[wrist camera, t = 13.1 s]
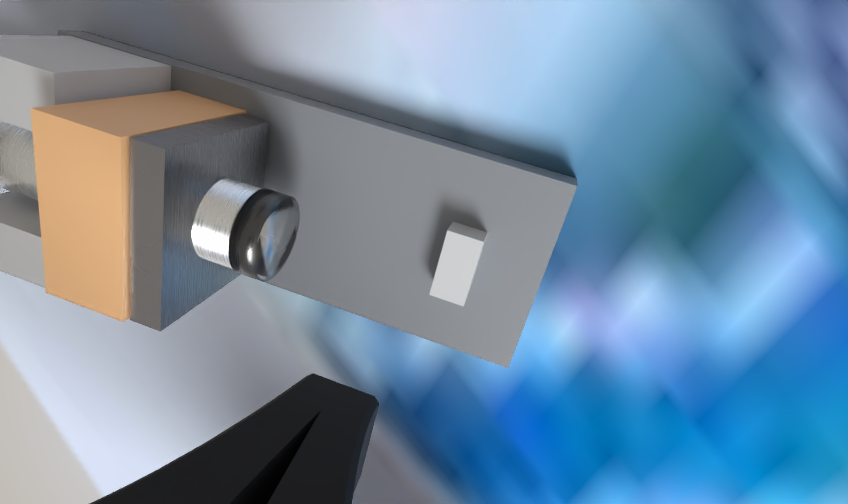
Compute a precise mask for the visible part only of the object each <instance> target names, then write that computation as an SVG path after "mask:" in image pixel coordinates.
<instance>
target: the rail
mask: <svg viewBox="0 0 848 504" xmlns="http://www.w3.org/2000/svg"><path fill="white" fill-rule="evenodd" d="M58 35H59V36H57V35H0V121H3V122H6V123H9V124H12V125H15V126H18V127H21V128H24V129H27V130H30V131H32V123H31V111H30V108H34V107H42V106H51V105H59V104H67V103H76V102H84V101H92V100H101V99H109V98H117V97H126V96H134V95H142V94H151V93H159V92H167V91H176V90H180V91H184V92H187V93H190V94H193V95H197V96H200V97H203V98H206V99H210V100H213V101H216V102H220V103H223V104H226V105H229V106H233V107H236V108H239V109H242V110H246V111H247V115H251V116H254V117H257V118H260V119H264V120H267V121H270V131H269V140H268V149H267V158H266V167H265V176H264V185H263V188H267V189H270V190H273V191H276V192H280V193H283V194H286V195H289V196H292V197H294V198H295V199H296V201H297V202H298V205H299V211H300V219H299V227H298V232H297V236H296V240H295V243H294V246H293V248H292V251H291V253H290V255H289V257H288V259H287V261H286V262H285V264H284V266H283V267H282V269H281V270H280V271H279V272H278V273H277V274H276V275H275V276H274V277H273V278H272V279H270V280H268V281H263V282H266V283H269V284H271V285H274V286H277V287H280V288H283V289H286V290H288V291H291V292H294V293H297V294H300V295H303V296H305V297H308V298H311V299H314V300H317V301H320V302H322V303H325V304H328V305H331V306H334V307H337V308H339V309H342V310H345V311H348V312H351V313H354V314H356V315H359V316H362V317H365V318H368V319H371V320H373V321H376V322H379V323H382V324H385V325H388V326H390V327H393V328H396V329H399V330H402V331H405V332H407V333H410V334H413V335H416V336H419V337H422V338H424V339H427V340H430V341H433V342H436V343H439V344H441V345H444V346H447V347H450V348H453V349H456V350H458V351H461V352H464V353H467V354H470V355H473V356H475V357H478V358H481V359H484V360H487V361H490V362H492V363H495V364H498V365H501V366H504V367H507V368H508V367H509V364H510V362H511V359H512V356H513V354H514V351H515V349H516V346H517V343H518V341H519V338H520V335H521V333H522V330H523V328H524V325H525V322H526V320H527V317H528V314H529V312H530V309H531V307H532V304H533V301H534V299H535V296H536V293H537V291H538V288H539V286H540V283H541V280H542V278H543V275H544V272H545V270H546V267H547V265H548V262H549V259H550V257H551V254H552V251H553V249H554V246H555V244H556V241H557V238H558V236H559V233H560V230H561V228H562V225H563V223H564V220H565V217H566V215H567V212H568V210H569V207H570V204H571V202H572V199H573V196H574V194H575V191H576V189H577V178H573V177H570V176H567V175H563V174H560V173H557V172H553V171H550V170H547V169H543V168H540V167H537V166H533V165H530V164H526V163H523V162H520V161H516V160H513V159H510V158H506V157H503V156H500V155H496V154H493V153H490V152H486V151H483V150H479V149H476V148H473V147H469V146H466V145H463V144H459V143H456V142H453V141H449V140H446V139H443V138H439V137H436V136H432V135H429V134H426V133H422V132H419V131H416V130H412V129H409V128H406V127H402V126H399V125H396V124H392V123H389V122H385V121H382V120H379V119H375V118H372V117H369V116H365V115H362V114H359V113H355V112H352V111H349V110H345V109H342V108H338V107H335V106H332V105H328V104H325V103H322V102H318V101H315V100H312V99H308V98H305V97H302V96H298V95H295V94H291V93H288V92H285V91H281V90H278V89H275V88H271V87H268V86H265V85H261V84H258V83H255V82H251V81H248V80H244V79H241V78H238V77H234V76H231V75H228V74H224V73H221V72H218V71H214V70H211V69H208V68H204V67H201V66H197V65H194V64H191V63H187V62H184V61H181V60H177V59H174V58H171V57H167V56H164V55H161V54H157V53H154V52H150V51H147V50H144V49H140V48H137V47H134V46H130V45H127V44H124V43H120V42H117V41H114V40H110V39H107V38H103V37H100V36H97V35H93V34H90V33H87V32H83V31H58ZM0 271H2V272H5V273H7V274H10V275H12V276H15V277H18V278H20V279H23V280H26V281H28V282H31V283H34V284H36V285H39V286H42V287H44V288H46V287H45V275H44V263H43V252H42V240H41V228H40V216H39V205H38V200H36V199H33V198H30V197H27V196H24V195H21V194H18V193H16V192H13V191H10V192H6V193H3V194H0Z"/></svg>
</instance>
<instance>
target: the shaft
mask: <svg viewBox="0 0 848 504" xmlns="http://www.w3.org/2000/svg"><path fill="white" fill-rule="evenodd" d="M269 131H270V121H267V120H264V119H260V118H257V117H254V116H251V115H247V114H244V113H242V114H238V115H233V116H228V117H224V118H219V119H214V120H210V121H205V122H201V123H196V124H191V125H187V126H182V127H177V128H173V129H168V130H164V131H159V132H154V133H150V134H145V135H140V136H136V137H131V138H129V197H130V320H132V321H135V322H137V323H140V324H142V325H145V326H148V327H150V328H153V329H156V330H158V331H162V330H163V329H164V328H166V327H167V326H169V325H170V324H171V323H173V322H174V321H176V320H177V319H179V318H180V317H181V316H183V315H184V314H186V313H187V312H188V311H190V310H191V309H193V308H194V307H195V306H197V305H198V304H200V303H201V302H202V301H204V300H205V299H207V298H208V297H209V296H211V295H212V294H214V293H215V292H216V291H218V290H219V289H221V288H222V287H224V286H225V285H226V284H228V283H229V282H231V281H232V280H233V279H235V278H236V277H238V276H239V275H240V274H243V275H246V276H249V277H252V278H254V279H257V280H260V281H268V280H270V279H272V278H273V277H274V276H275V275H276V274H277V273H278V272H279V271H280V270H281V269H282V267H283V266H284V264H285V262H286V261H287V259H288V257H289V255H290V253H291V251H292V248H293V246H294V243H295V240H296V236H297V232H298V227H299V219H300V211H299V205H298V202H297V201H296V199H295V198H294V197H292V196H289V195H286V194H283V193H280V192H276V191H273V190H270V189H267V188H263V185H264V176H265V167H266V158H267V149H268V140H269ZM0 187H1V188H4V189H7V190H10V191H13V192H16V193H18V194H21V195H24V196H27V197H30V198H33V199H36V200H38V193H37V181H36V170H35V158H34V146H33V134H32V131H30V130H27V129H24V128H21V127H18V126H15V125H12V124H9V123H6V122H3V121H0Z"/></svg>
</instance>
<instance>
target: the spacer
mask: <svg viewBox="0 0 848 504" xmlns="http://www.w3.org/2000/svg"><path fill="white" fill-rule="evenodd" d="M30 111H31V123H32V134H33V146H34V158H35V170H36V181H37V193H38V205H39V216H40V228H41V240H42V252H43V263H44V275H45V287H46V293H49V294H51V295H54V296H57V297H59V298H62V299H65V300H67V301H70V302H72V303H75V304H78V305H80V306H83V307H86V308H88V309H91V310H94V311H96V312H99V313H101V314H104V315H107V316H109V317H112V318H115V319H117V320H120V321H123V322H124V321H125V320H127V319H128V318H130V197H129V138H131V137H136V136H140V135H145V134H150V133H154V132H159V131H164V130H168V129H173V128H177V127H182V126H187V125H191V124H196V123H201V122H205V121H210V120H214V119H219V118H224V117H228V116H233V115H238V114H242V113H244V114H247V111H246V110H242V109H239V108H236V107H233V106H229V105H226V104H223V103H220V102H216V101H213V100H210V99H206V98H203V97H200V96H197V95H193V94H190V93H187V92H184V91H180V90H176V91H167V92H159V93H151V94H142V95H134V96H126V97H117V98H109V99H101V100H92V101H84V102H76V103H67V104H59V105H51V106H42V107H34V108H30Z"/></svg>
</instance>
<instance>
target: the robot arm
mask: <svg viewBox="0 0 848 504" xmlns="http://www.w3.org/2000/svg"><path fill="white" fill-rule="evenodd" d="M378 406H379V403H378V401H377V399H376V398H375V396H372V395H369V394H367V393H364V392H361V391H359V390H356V389H353V388H351V387H348V386H345V385H343V384H340V383H337V382H335V381H332V380H329V379H327V378H324V377H321V376H319V375H316V374H311V375H308V376H306V377H305V378H303V379H302V380H301V381H299V382H298V383H296V384H295V385H293V386H292V387H291V388H289V389H288V390H286V391H285V392H283V393H282V394H281V395H279V396H278V397H276V398H275V399H273V400H272V401H270V402H269V403H267V404H266V405H264V406H263V407H261V408H260V409H258V410H257V411H255V412H254V413H252V414H251V415H249V416H248V417H246V418H244V419H243V420H241V421H240V422H238V423H236V424H235V425H233V426H232V427H230V428H228V429H227V430H225V431H224V432H222V433H220V434H219V435H217V436H216V437H214V438H212V439H211V440H209V441H207V442H206V443H204V444H202V445H201V446H199V447H197V448H195V449H193V450H192V451H190V452H188V453H186V454H185V455H183V456H181V457H179V458H177V459H176V460H174V461H172V462H170V463H169V464H167V465H165V466H163V467H161V468H160V469H158V470H156V471H154V472H152V473H150V474H148V475H147V476H145V477H143V478H141V479H139V480H137V481H135V482H133V483H131V484H129V485H127V486H125V487H123V488H121V489H119V490H117V491H115V492H113V493H111V494H109V495H107V496H105V497H103V498H101V499H98V500H96V501H94V502H92V503H90V504H352V498H353V493H354V491H355V488H356V485H357V483H358V480H359V478H360V475H361V472H362V468H363V464H364V460H365V456H366V452H367V449H368V445H369V441H370V437H371V433H372V429H373V425H374V421H375V418H376V414H377V410H378Z"/></svg>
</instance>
